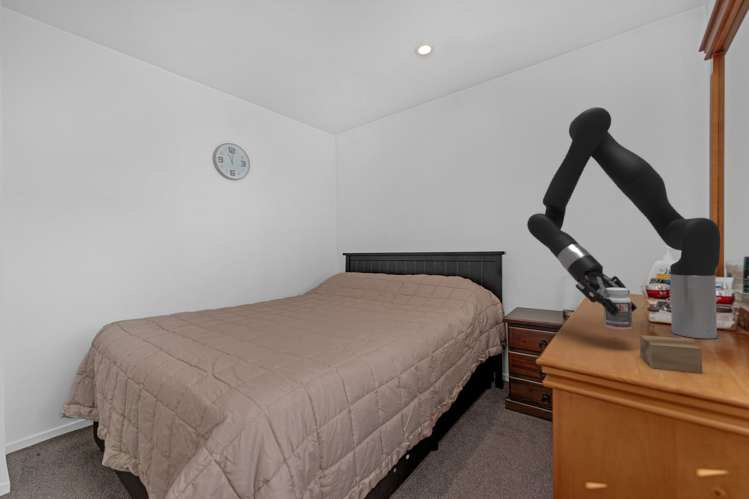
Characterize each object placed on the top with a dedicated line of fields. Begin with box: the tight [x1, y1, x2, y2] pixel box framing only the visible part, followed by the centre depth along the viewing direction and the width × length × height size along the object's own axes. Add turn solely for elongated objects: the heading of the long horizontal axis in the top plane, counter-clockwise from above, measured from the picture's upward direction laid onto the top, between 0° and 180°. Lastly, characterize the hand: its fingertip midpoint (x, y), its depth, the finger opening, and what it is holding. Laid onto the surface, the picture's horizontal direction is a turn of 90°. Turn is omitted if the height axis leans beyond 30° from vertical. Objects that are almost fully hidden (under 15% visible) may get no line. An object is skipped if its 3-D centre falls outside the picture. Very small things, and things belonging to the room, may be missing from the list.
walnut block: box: [639, 334, 703, 374], centre depth 71 cm, size 8×8×5 cm
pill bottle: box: [603, 287, 633, 331], centre depth 83 cm, size 6×6×10 cm
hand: (625, 311), depth 81 cm, fingers closed on pill bottle, 5 cm apart
